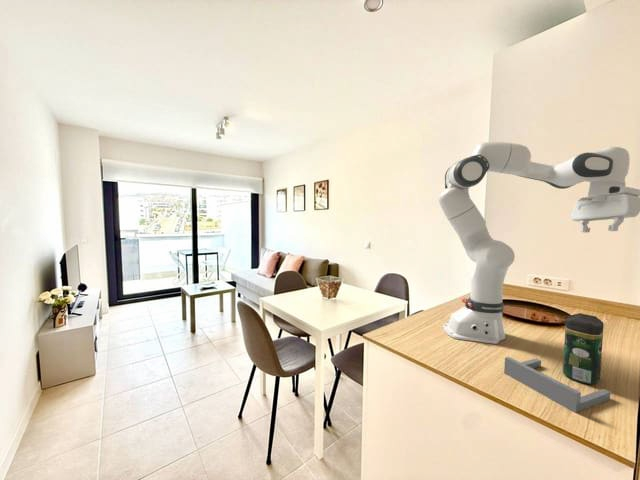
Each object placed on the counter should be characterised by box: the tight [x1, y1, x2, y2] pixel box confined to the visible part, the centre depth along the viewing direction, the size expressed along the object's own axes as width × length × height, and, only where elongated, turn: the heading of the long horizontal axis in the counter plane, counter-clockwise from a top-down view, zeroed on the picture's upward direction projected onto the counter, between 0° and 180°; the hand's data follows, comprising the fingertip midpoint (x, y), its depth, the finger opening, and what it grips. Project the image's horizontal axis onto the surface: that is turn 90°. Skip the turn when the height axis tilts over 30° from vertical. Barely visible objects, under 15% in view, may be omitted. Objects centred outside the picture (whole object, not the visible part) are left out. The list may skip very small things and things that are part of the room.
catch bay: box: [503, 356, 612, 414], centre depth 76 cm, size 14×18×5 cm
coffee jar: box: [562, 312, 605, 386], centre depth 80 cm, size 10×8×19 cm
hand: (598, 231), depth 96 cm, fingers open, 8 cm apart
